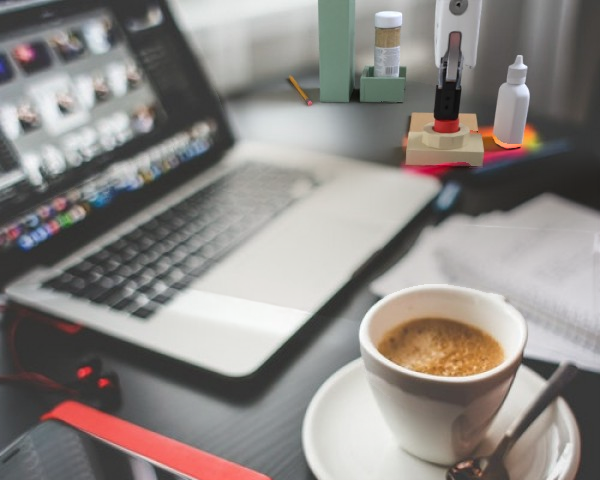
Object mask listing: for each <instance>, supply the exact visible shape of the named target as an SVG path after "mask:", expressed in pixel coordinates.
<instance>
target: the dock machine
mask: <svg viewBox="0 0 600 480" xmlns="http://www.w3.org/2000/svg"><path fill="white" fill-rule="evenodd" d="M317 19H318V23H317V24H318V25H317V26H318V63H319V64H318V67H319V68H318V69H319V70H318V71H319V72H318V73H319V102H320V103H349V102H350V100H351V98H352V94H353V92H354V90H353V89H355V83H356V82H355V80H356V79H355V78H356V77H355V76H356V74H355V72H356V68H355V67H356V65H355V64H356V0H317ZM407 68H408V66H407V65H399V77H374V65H365V66H364V67H363V70H362V73H361V76H360V78H359V80H360V81H359V103H384V102H383V101H401V100H402V101H403V102H404V97H405V90H404V85H406V86H407V71H408V69H407ZM352 91H353V92H352ZM381 101H382V102H381Z"/></svg>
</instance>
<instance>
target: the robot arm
mask: <svg viewBox="0 0 600 480" xmlns="http://www.w3.org/2000/svg"><path fill="white" fill-rule="evenodd" d="M482 8H483V0H435V13H434V31H433V32H434V36H433V37H434V63H435V67H436V68H438V69H439V71H438V81H437V84H436V86H435V96H434V106H433V113H434V118H435V119H450V120H456V119H458V116H459V113H460V108H461V99H462V85H461V84H462V77H463V70H464V64H465V67H469V69H470V70H473V69H475V68H476V65H477V55H478V44H479V36H480V26H481V20H482V19H481V18H482Z"/></svg>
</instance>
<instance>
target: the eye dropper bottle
mask: <svg viewBox="0 0 600 480" xmlns="http://www.w3.org/2000/svg"><path fill="white" fill-rule="evenodd" d="M523 60H524V56H523V55H522V54H518V55H516V57H515V60H514V62H513V64H510V65H508V67H507V68H508V69H507V76H506V82H503V83H502V84H501V85H500V87H499V89H498V92H497V94H498V95H497V99H496V108H495V114H494V122H493V128H492V129H493V130H492V135H493V134H494V135H495V136H496V137H497V139H498V140H500V141H501V142H503V143H507V144H522V145H523V143H524V136H525V130H526V129H525V128H526V124H527V117H528V112H529V105H530V100H531V99H530V96H531V95H530V90H529V88H528V86H527V85H526V84H525V83H526V80H527V73H528V66H527V65H526V64H524V61H523Z"/></svg>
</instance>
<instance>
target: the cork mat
mask: <svg viewBox="0 0 600 480" xmlns="http://www.w3.org/2000/svg"><path fill="white" fill-rule="evenodd" d="M458 118H459V123H462V124H464V125H466V126H468V127H469V130H473V131H478V132H479V127H478V119H477V114H476V113H460V112H459V116H458ZM431 122H435V118H434V112H411V115H410V125H409V132H423V126H424V125H426V124H428V123H431Z"/></svg>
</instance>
